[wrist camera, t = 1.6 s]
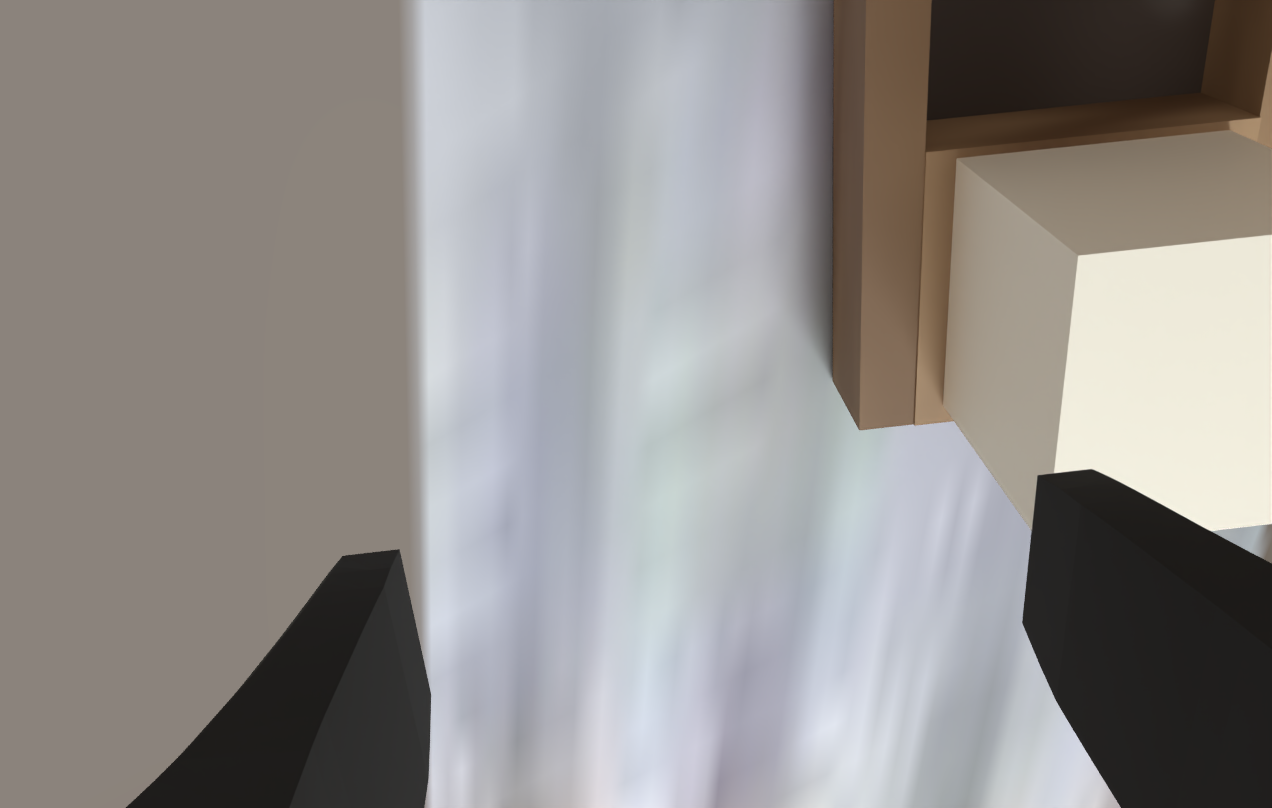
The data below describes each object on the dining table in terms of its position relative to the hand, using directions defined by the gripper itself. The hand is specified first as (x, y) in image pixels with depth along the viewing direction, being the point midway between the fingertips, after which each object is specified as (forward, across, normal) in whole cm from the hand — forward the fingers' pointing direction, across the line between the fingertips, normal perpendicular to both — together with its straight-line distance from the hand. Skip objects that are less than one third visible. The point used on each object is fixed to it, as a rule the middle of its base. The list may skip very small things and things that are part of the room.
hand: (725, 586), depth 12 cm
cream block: (+7, -7, 0) cm, 10 cm away
